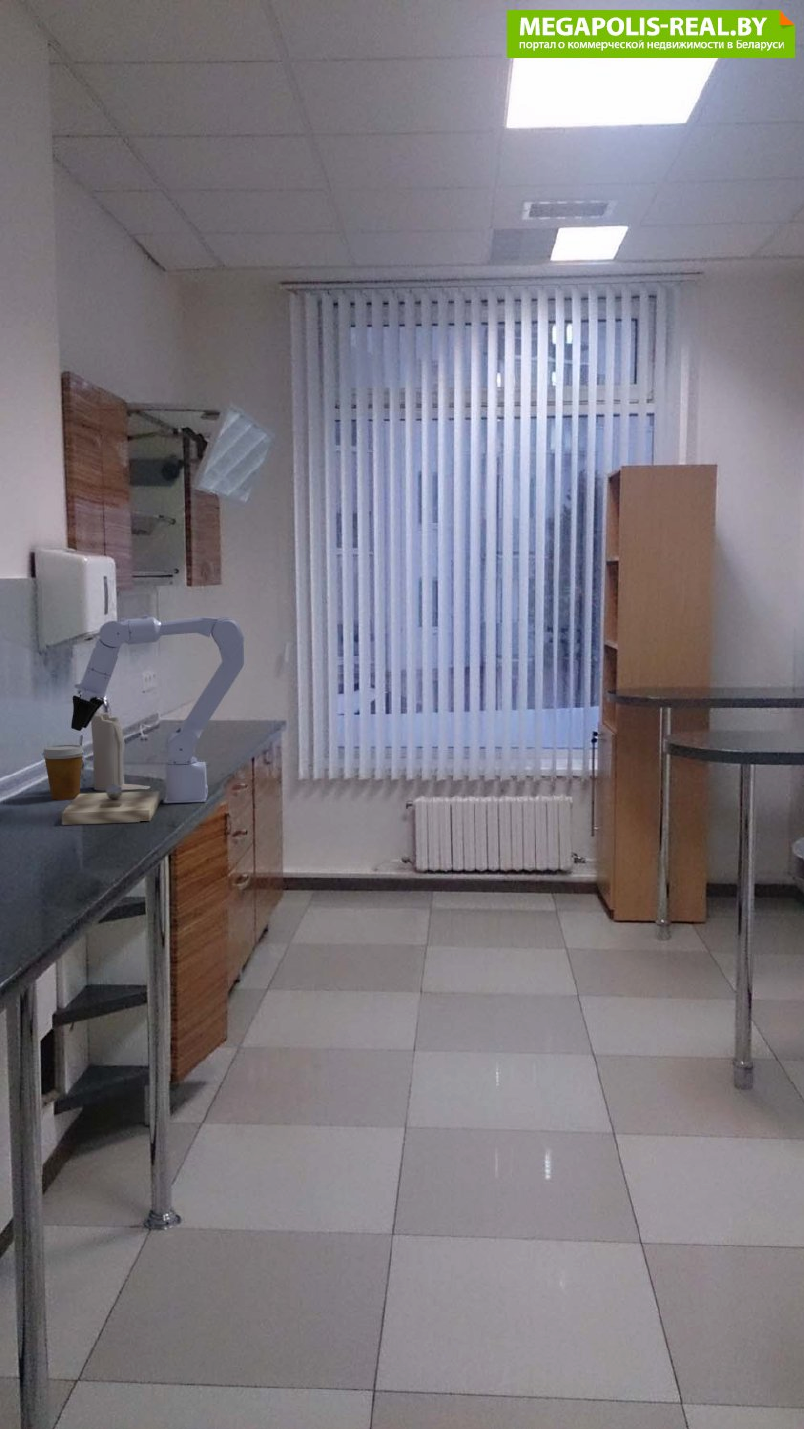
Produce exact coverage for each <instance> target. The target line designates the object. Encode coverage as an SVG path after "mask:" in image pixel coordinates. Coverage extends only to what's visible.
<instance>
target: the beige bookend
mask: <svg viewBox="0 0 804 1429" xmlns="http://www.w3.org/2000/svg"><path fill="white" fill-rule="evenodd" d="M110 715H111V714H110V713H109V712H100V711H99V709H98V710H97V711H96V713H95V714H94V716H93V718H92V719H91V721H90V728H91V739H92V758H93V760H92V762H93V764H92V765H93V766H92V769H93V770H92V771H93V785H94V786H93V788H94V790H95V791H100V792H101V791H102V792H103V791H105V792H106V789H107V787H108V786H109V785H111V784H118V785H119V786H120V787H121V788H122V791H136V790H137V791H139V790H149V789H150V788H151V786H150V785H142V784H134V783H133V784H132V783H125V776H124V775H125V774H124V773H125V770H124V755H125V737H124V733H123V728H122V722H121V721H120V719H119V717H116V716H114V717H111V716H110Z"/></svg>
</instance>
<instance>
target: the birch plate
mask: <svg viewBox="0 0 804 1429" xmlns="http://www.w3.org/2000/svg"><path fill="white" fill-rule="evenodd" d="M160 803H161V792H160V790H155V791H154V790H153V791H151V790H150V791H149V790H148V791H126V792H125V791H122V795H121V797H120V798H118V799H115V800H113V799H110V798H109V797H108V796H107V794H106V792H95V793H94V792H93V793H91V792H90V793H80V794H79V795H78V796H77V797H76V798H74V799H72V801H71V802H70V804H68V806H67V807H66V808H65V809H64V810H63V811H62V812H61V824H62V825H63V826H65V825H66V826H67V825H69V826H71V825H73V826H74V825H96V824H121V823H122V824H123V823H141V822H140V821H150V822H151V821H152V818H153V816H154V814H155V813H156V811H157V809H158V806H159V805H160Z"/></svg>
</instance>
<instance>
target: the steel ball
mask: <svg viewBox="0 0 804 1429" xmlns="http://www.w3.org/2000/svg"><path fill="white" fill-rule="evenodd" d="M122 792H123V790H122V788H121V787H120V786H119V785H118V784H111V785H109V786H108V787H107V789H106V791H105V793H106V794H107V796H108V797H109V798H110V799H113V800H115V799H118V798H120V797H121V795H122Z"/></svg>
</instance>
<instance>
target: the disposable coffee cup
mask: <svg viewBox="0 0 804 1429" xmlns="http://www.w3.org/2000/svg"><path fill="white" fill-rule="evenodd" d="M84 753H85V750H84V749H83V745H80V744H57V745H55V744H54V745H50V746H45V747H44V748H43V752H42V753H41V755H42V756H43V758H44V762H45V769H46V772H47V779H48V784H49V790H50V795H51V799H53V800H57V801H63V800H66V801H67V800H74V799H75V798H76V797H77V796H78V795H79V794H81V793H80V792H81V777H82V767H83V756H84Z"/></svg>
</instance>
